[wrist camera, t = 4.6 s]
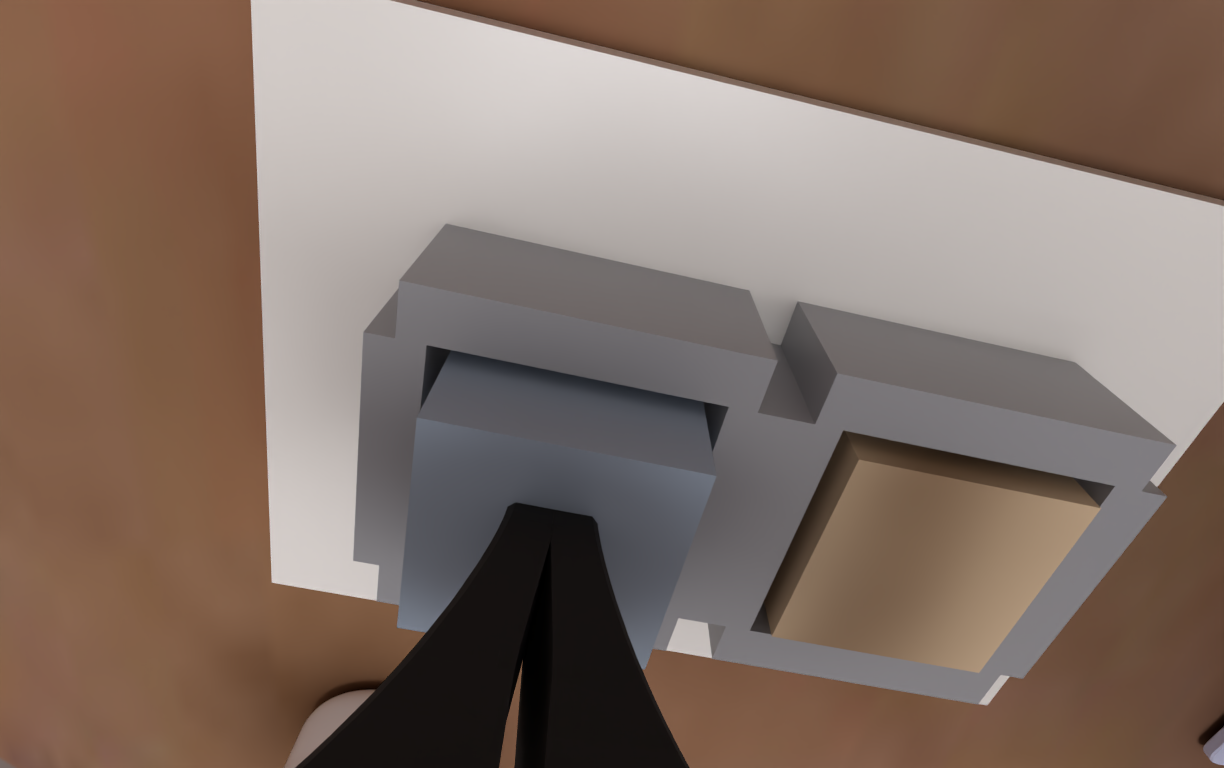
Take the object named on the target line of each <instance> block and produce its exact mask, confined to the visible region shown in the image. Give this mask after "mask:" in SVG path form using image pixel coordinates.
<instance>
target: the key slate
mask: <svg viewBox="0 0 1224 768" xmlns="http://www.w3.org/2000/svg"><path fill="white" fill-rule="evenodd" d="M715 479H716V470H715V465H714V459H713V453H712V448H711V442H710V437H709V431H708V426H707V420H706V414H705V409H704V403H703V402H702V401H698V400H693V399H688V398H683V397H678V396H673V395H668V394H663V393H658V392H654V391H649V390H644V389H639V388H634V387H629V386H624V385H619V384H615V383H610V382H605V381H600V380H595V379H590V378H585V377H580V376H575V375H571V374H566V373H561V372H556V371H551V370H546V369H541V368H536V367H532V366H527V365H522V364H517V363H512V362H507V361H502V360H497V359H492V358H488V357H483V356H478V355H473V354H468V353H463V352H458V351H453V350H451V352H450V353H449V355H448V357H447V359H446V361H445V363H444V365H443V367H442V369H441V371H440V373H439V375H438V377H437V379H436V381H435V383H434V385H433V387H432V389H431V391H430V393H429V395H428V397H427V398H426V400H425V402H424V404H423V406H422V408H421V410H420V412H419V414H418V416H417V420H416V431H415V442H414V452H413V463H412V474H411V484H410V495H409V505H408V516H407V527H406V537H405V548H404V559H403V569H402V580H401V591H400V601H399V612H398V623H397V628H402V629H408V630H414V631H420V632H427V631H428V630H429V628H430V627H431V626H432V625H433V623H434V622H435V621H436V620H437V618H438V617H439V616H440V615H441V613H442V612H443V611H444V610H445V608H446V607H447V606H448V605H449V603H450V602H451V601H452V599H453V598H454V597H455V595H456V594H457V592H458V591H459V590H460V588H461V587H462V585H463V584H464V582H465V581H466V579H467V578H468V577H469V575H470V574H471V572H472V571H473V569H474V568H475V566H476V565H477V563H478V562H479V560H480V559H481V557H482V556H483V554H484V552H485V551H486V549H487V547H488V546H489V544H490V542H491V541H492V539H493V537H494V535H495V534H496V532H497V530H498V528H499V526H500V524H501V522H502V520H503V517H504V515H505V512H506V509H507V507H508V506H510V505H512V504H514V503H515V502H517V503H522V504H527V505H533V506H538V507H544V508H549V509H554V510H560V511H565V512H571V513H576V514H582V515H587V516H592V517H593V518H594V519H595V521H596V522H597V523H598V530H599V536H600V541H601V546H602V551H603V555H604V559H605V563H606V567H607V570H608V574H609V578H610V581H611V585H612V588H613V591H614V595H615V598H616V601H617V604H618V607H619V610H620V612H621V615H622V618H623V621H624V624H625V627H626V630H627V633H628V636H629V638H630V641H631V643H632V646H633V649H634V651H635V654H636V656H637V659H638V661H639V664H640V666H641V668H642V669H645V668H646V665H647V662H648V660H649V657H650V654H651V651H652V649H653V646H654V643H655V641H656V638H657V635H658V633H659V630H660V627H661V625H662V622H663V619H664V616H665V614H666V611H667V608H668V606H669V603H670V600H671V598H672V595H673V592H674V590H675V587H676V584H677V581H678V579H679V576H680V573H681V571H682V568H683V565H684V563H685V560H686V557H687V554H688V552H689V549H690V546H691V544H692V541H693V538H694V536H695V533H696V530H697V528H698V525H699V522H700V519H701V517H702V514H703V511H704V509H705V506H706V503H707V501H708V498H709V495H710V493H711V490H712V487H713V484H714V482H715Z"/></svg>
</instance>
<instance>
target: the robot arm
mask: <svg viewBox="0 0 1224 768" xmlns="http://www.w3.org/2000/svg"><path fill="white" fill-rule="evenodd" d="M522 660H523V664H522ZM521 664H522V676H521V689H520V702H519V715H518V729H517V742H516V755H515V768H689V766H688V764H687V762H686V761H685V759H684V757H683V755H682V753H681V751H680V750H679V748H678V746H677V744H676V742H675V740H674V738H673V736H672V734H671V732H670V730H669V728H668V726H667V724H666V722H665V720H664V718H663V716H662V714H661V711H660V709H659V707H658V705H657V703H656V701H655V698H654V696H653V694H652V692H651V690H650V687H649V685H648V683H647V680H646V678H645V676H644V673H643V671H642V668H641V666H640V664H639V661H638V659H637V656H636V654H635V651H634V649H633V646H632V643H631V641H630V638H629V636H628V633H627V630H626V627H625V624H624V621H623V618H622V615H621V612H620V610H619V607H618V604H617V601H616V598H615V595H614V591H613V588H612V585H611V581H610V578H609V574H608V570H607V567H606V563H605V559H604V555H603V551H602V546H601V541H600V536H599V530H598V523H597V522H596V521H595V519H594V518H593V517H592V516H587V515H582V514H576V513H571V512H565V511H560V510H554V509H549V508H544V507H538V506H533V505H527V504H522V503H517V502H515V503H514V504H512V505H510V506H508V507H507V509H506V512H505V515H504V517H503V520H502V522H501V524H500V526H499V528H498V530H497V532H496V534H495V535H494V537H493V539H492V541H491V542H490V544H489V546H488V547H487V549H486V551H485V552H484V554H483V556H482V557H481V559H480V560H479V562H478V563H477V565H476V566H475V568H474V569H473V571H472V572H471V574H470V575H469V577H468V578H467V579H466V581H465V582H464V584H463V585H462V587H461V588H460V590H459V591H458V592H457V594H456V595H455V597H454V598H453V599H452V601H451V602H450V603H449V605H448V606H447V607H446V608H445V610H444V611H443V612H442V613H441V615H440V616H439V617H438V618H437V620H436V621H435V622H434V623H433V625H432V626H431V627H430V628H429V630H428V631H427V632H426V633H425V635H424V636H423V637H422V639H421V640H420V641H419V642H418V643H417V645H416V646H415V647H414V648H413V649H412V650H411V651H410V653H409V654H408V655H407V656H406V657H405V658H404V660H403V661H402V662H401V663H400V664H399V665H398V666H397V667H396V668H395V670H394V671H393V672H392V673H391V674H390V675H389V676H388V677H387V678H386V679H385V680H384V681H383V683H382V684H381V685H380V686H379V687H378V688H377V689H376V690H375V691H374V692H373V693H372V694H371V695H370V696H369V697H368V698H367V699H366V700H365V701H364V702H363V703H362V704H361V705H360V706H359V707H358V708H357V709H356V710H355V711H354V712H353V713H352V714H351V715H350V716H349V717H348V718H347V719H346V720H345V721H344V722H343V723H342V724H341V725H340V726H339V727H338V728H337V729H336V730H335V731H334V732H333V733H332V734H331V735H330V736H329V737H328V738H327V739H326V740H325V741H324V742H323V743H322V744H320V745H319V746H318V747H317V748H316V749H315V750H314V751H313V752H312V753H311V754H310V755H309V756H308V757H306V758H305V759H304V760H303V761H302V762H301V763H300V764H299V765H297V766H296V767H295V768H499V763H500V757H501V750H502V744H503V738H504V732H505V725H506V720H507V717H508V713H509V709H510V705H511V702H512V698H513V694H514V690H515V687H516V683H517V679H518V675H519V672H520V668H521ZM1203 751H1204V752H1205V754H1206V755H1207V756H1208V758H1209V759H1210V760H1211V761H1212V762H1213V763H1216V764H1219V765H1224V727H1222V728H1221V729H1220V730H1219V731H1218V732H1217V733H1216V734H1215V735H1214V736H1213V737H1212V738H1211V739H1210V740H1208V741H1207V742H1206V744H1205V745H1204V747H1203Z"/></svg>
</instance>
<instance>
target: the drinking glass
mask: <svg viewBox="0 0 1224 768" xmlns="http://www.w3.org/2000/svg"><path fill="white" fill-rule="evenodd" d="M375 690H376V689H368V690H357V691H351V692H347V693H343V694H340V695H338V696H335V697H333V698H331V699H329V700H327V701H326V702H324V703H323V704H321V705H320V706H319V707H318V708H316V709H315V710H314V711H313V712H312V714H311V715H310V716H309V717H308V719H307V720H306V721H305V723H304V725H303V727H302V729H301V731H300V733H299V735H298V737H297V739H296V741H295V744H294V746H293V748H292V750H291V752H290V755H289V757H288V759H287V761H286V763H285V766H284V768H295V767H296V766H297V765H299V764H300V763H301V762H302V761H303V760H304V759H305V758H306V757H308V756H309V755H310V754H311V753H312V752H313V751H314V750H315V749H316V748H317V747H318V746H319V745H320V744H322V743H323V742H324V741H325V740H326V739H327V738H328V737H329V736H330V735H331V734H332V733H333V732H334V731H335V730H336V729H337V728H338V727H339V726H340V725H341V724H342V723H343V722H344V721H345V720H346V719H347V718H348V717H349V716H350V715H351V714H352V713H353V712H354V711H355V710H356V709H357V708H358V707H359V706H360V705H361V704H362V703H363V702H364V701H365V700H366V699H367V698H368V697H369V696H370V695H371V694H372V693H373V692H374V691H375Z"/></svg>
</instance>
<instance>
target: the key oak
mask: <svg viewBox="0 0 1224 768" xmlns="http://www.w3.org/2000/svg"><path fill="white" fill-rule="evenodd" d="M1100 509H1101V507H1100V506H1099V505H1098V504H1097V503H1096V502H1095V501H1094V500H1093V499H1092V498H1091V497H1090V496H1089V494H1088V493H1087V492H1086V491H1085V490H1084V489H1083V488H1082V487H1081V486H1080V485H1079V484H1078V483H1077V481H1076V480H1075V479H1074V478H1073V477H1069V476H1064V475H1059V474H1054V473H1049V472H1044V471H1039V470H1034V469H1030V468H1025V467H1020V466H1015V465H1010V464H1005V463H1000V462H995V461H991V460H986V459H981V458H976V457H971V456H966V455H961V454H956V453H951V452H947V451H942V450H937V449H932V448H927V447H922V446H917V445H912V444H908V443H903V442H898V441H893V440H888V439H883V438H878V437H873V436H868V435H864V434H859V433H854V432H849V431H844V430H843V432H842V434H841V437H840V439H839V441H838V443H837V445H836V447H835V449H834V452H833V454H832V456H831V458H830V460H829V462H828V464H827V467H826V469H825V471H824V473H823V475H822V477H821V479H820V482H819V484H818V486H817V488H816V490H815V492H814V494H813V497H812V499H811V501H810V503H809V505H808V507H807V509H806V512H805V514H804V516H803V518H802V520H801V522H800V524H799V527H798V529H797V531H796V533H795V535H794V537H793V539H792V542H791V544H790V546H789V548H788V550H787V552H786V554H785V557H784V559H783V561H782V563H781V565H780V567H779V569H778V571H777V574H776V576H775V578H774V580H773V582H772V584H771V586H770V589H769V591H768V593H767V595H766V597H765V599H764V604H765V608H766V613H767V617H768V622H769V626H770V631H771V635H772V637H777V638H783V639H788V640H794V641H800V642H806V643H811V644H817V645H823V646H828V647H834V648H840V649H845V650H851V651H857V652H862V653H868V654H874V655H879V656H885V657H891V658H897V659H902V660H908V661H914V662H919V663H925V664H931V665H936V666H942V667H948V668H953V669H959V670H965V671H971V672H976V673H979V672H980V671H981V670H982V668H983V667H984V666H985V664H986V663H987V662H988V660H989V659H990V658H991V656H992V655H993V654H994V652H995V651H996V650H997V648H998V647H999V645H1000V644H1001V643H1002V641H1003V640H1004V639H1005V637H1006V636H1007V635H1008V633H1009V632H1010V631H1011V629H1012V628H1013V627H1014V625H1015V624H1016V623H1017V621H1018V620H1019V619H1020V617H1021V616H1022V615H1023V613H1024V612H1025V610H1026V609H1027V608H1028V606H1029V605H1030V604H1031V602H1032V601H1033V600H1034V598H1035V597H1036V596H1037V594H1038V593H1039V592H1040V590H1041V589H1042V588H1043V586H1044V585H1045V584H1046V582H1047V581H1048V579H1049V578H1050V577H1051V575H1052V574H1053V573H1054V571H1055V570H1056V569H1057V567H1058V566H1059V565H1060V563H1061V562H1062V561H1063V559H1064V558H1065V557H1066V555H1067V554H1068V553H1069V551H1070V550H1071V548H1072V547H1073V546H1074V544H1075V543H1076V542H1077V540H1078V539H1079V538H1080V536H1081V535H1082V534H1083V532H1084V531H1085V530H1086V528H1087V527H1088V526H1089V524H1090V523H1091V522H1092V520H1093V519H1094V517H1095V516H1096V515H1097V513H1098V512H1099V511H1100Z"/></svg>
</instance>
